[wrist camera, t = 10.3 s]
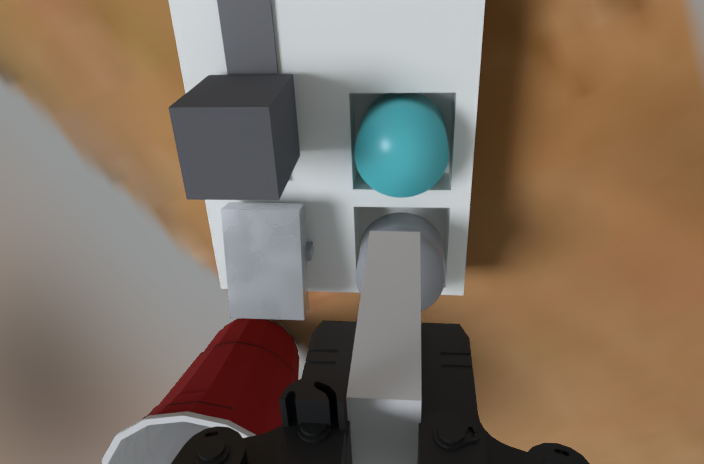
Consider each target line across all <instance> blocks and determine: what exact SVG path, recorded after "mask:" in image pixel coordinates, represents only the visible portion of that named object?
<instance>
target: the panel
mask: <svg viewBox="0 0 704 464" xmlns="http://www.w3.org/2000/svg"><path fill="white" fill-rule="evenodd" d="M169 6H170V11H171V17H172V22H173V28H174V33H175V39H176V44H177V50H178V55H179V60H180V66H181V71H182V77H183V82H184V88H185V93H187V92H188V91H190V90H191V89H192V88H193V87H195V86H196V85H197V84H198V83H200V82H201V81H202V80H203V79H205V78H206V77H207V76H208V75H248V74H293V79H294V90H295V102H296V113H297V125H298V136H299V148H300V157H299V159H298V161H297V163H296V165H295V167H294V170H293V172H292V174H291V176H290V178H289V180H288V182H287V185H286V187H285V189H284V191H283V193H282V195H281V197H280V200H205V203H206V209H207V214H208V220H209V225H210V230H211V236H212V241H213V247H214V252H215V258H216V263H217V269H218V274H219V280H220V285H221V289H228V286H227V275H226V264H225V252H224V241H223V230H222V218H221V209H222V208H223V207H224V206H225V205H227V204H228V203H229V202H245V203H304V206H305V230H306V254H307V277H308V291H324V292H359V290H358V288H357V285H356V269H357V263H358V257H359V251H360V245H361V240H362V236H363V234H364V232H365V230H366V229H367V228H368V226H369V225H370V224H371V223H372V222H374V221H375V220H376V219H378V218H380V217H382V216H384V215H387V214H391V213H399V212H403V213H411V214H415V215H418V216H420V217H422V218H424V219H425V220H427V221H428V222H430V223H431V224H432V225H433V226H434V227H435V229H436V230H437V231H438V233H439V235H440V238H441V242H442V250H443V263H444V277H445V282H444V287H443V291H442V293H441V295H463V294H464V280H465V267H466V253H467V240H468V226H469V213H470V199H471V185H472V172H473V158H474V145H475V131H476V118H477V104H478V91H479V77H480V64H481V50H482V36H483V23H484V9H485V0H169ZM387 93H419V94H422V95H424V96H426V97H427V98H429V99H430V100H431V101H432V102H433V103H435V105H436V106H437V107H438V108H439V110H440V111H441V113H442V115H443V118H444V121H445V125H446V132H447V140H448V147H449V159H448V164H447V167H446V170H445V172H444V174H443V175H442V177H441V178H440V180H439V181H438V182H437V183H436V184H435V185H434V186H433V187H432V188H430V189H429V190H427V191H425V192H424V193H421V194H419V195H416V196H412V197H405V198H398V197H391V196H387V195H384V194H382V193H379V192H377V191H376V190H374V189H373V188H371V187H370V186H369V185H368V184H367V183H366V182H365V181H364V180H363V178H362V177H361V175H360V174H359V172H358V170H357V167H356V163H355V158H354V149H355V143H356V140H357V136H358V132H359V128H360V124H361V121H362V117H363V115H364V113H365V111H366V110H367V108H368V107H369V106H370V105H371V104H372V103H373V102H374V101H375V100H376V99H378V98H379V97H381V96H383V95H385V94H387Z"/></svg>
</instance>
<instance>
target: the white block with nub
mask: <svg viewBox="0 0 704 464" xmlns="http://www.w3.org/2000/svg"><path fill="white" fill-rule="evenodd" d="M221 218H222V230H223V241H224V252H225V264H226V275H227V286H228V298H229V308H230V318H249V319H280V320H304V319H305V317H306V315H307V312H308V310H309V301H308V277H307V254H306V230H305V206H304V203H245V202H229V203H228V204H227V205H225V206H224V207H223V208H222V209H221Z"/></svg>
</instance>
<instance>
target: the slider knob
mask: <svg viewBox="0 0 704 464" xmlns="http://www.w3.org/2000/svg"><path fill="white" fill-rule="evenodd" d="M169 112H170V117H171V122H172V127H173V132H174V137H175V142H176V147H177V152H178V157H179V162H180V167H181V172H182V177H183V182H184V187H185V192H186V197H187V199H199V200H280V197H281V195H282V193H283V191H284V189H285V187H286V185H287V182H288V180H289V178H290V176H291V174H292V172H293V170H294V167H295V165H296V163H297V161H298V159H299V157H300V148H299V136H298V125H297V113H296V102H295V90H294V79H293V74H248V75H208V76H207V77H206V78H205V79H203V80H202V81H201V82H200V83H198V84H197V85H196V86H195V87H193V88H192V89H191V90H190V91H188V92H187V93H186V94H185V95H184V96H182V97H181V98H180V99H179V100H177V101H176V102H175V103H174V104H172V105H171V106H170V107H169Z"/></svg>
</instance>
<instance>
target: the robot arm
mask: <svg viewBox="0 0 704 464" xmlns="http://www.w3.org/2000/svg"><path fill="white" fill-rule="evenodd" d="M279 403H280V410H281V417H282V425H281V426H279V427H277V428H276V429H274V430H272V431H269V432H266V433H263V434H259V435H255V436H250V437H246V438H242V436H241V435H240V434H239V432H237V431H235V430H233V429H231V428H229V427H220V426H216V427H212V428H207V429H204V430H202V431H200V432H199V433H197V434H195V435H193V436H192V437H191V438H190V439H189V440H188V441H187V442H186V443H185V444H184V446H183V447H182V449H181V450H180V451H179V453H178V454H177V456H176V457H175V458H174V460H173V461H172V463H171V464H589V463H588V461H587V460H586V459H585V458H584V457H583V456H582V455H581V454H579V453H578V452H576V451H575V450H573V449H572V448H570V447H567V446H564V445H561V444H558V443H543V444H540V445H537V446H534V447H532V448H531V449H530V450H529V451H528V452H525V451H522V450H519V449H516V448H513V447H510V446H508V445H505V444H503V443H501V442H499V441H498V440H496V439H495V438H493V437H492V436H490V434H489V433H488V432H487V431H486V430H485V429H484V428H483V426H482V424H481V423H480V420H479V416H478V411H477V402H476V394H475V385H474V376H473V369H472V359H471V350H470V342H469V337H468V336H467V334H466V333H465V331H464V330H463V329H462V327H461V326H460V324H442V323H421V266H420V232H407V231H370V233H369V240H368V247H367V254H366V261H365V269H364V276H363V283H362V290H361V297H360V304H359V311H358V318H357V322H346V321H322V323H321V324H320V325H319V326H318V327H317V328H316V330H315V331H314V332H313V333H312V336H311V341H310V345H309V351H308V353H307V357H306V363H305V366H304V370H303V375H302V378H301V379H300V380H298V381H295V382H293V383H291V384H290V385H289V386H288V387H287V388H285V389H284V390H283V392H282V394H281V396H280V398H279Z"/></svg>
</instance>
